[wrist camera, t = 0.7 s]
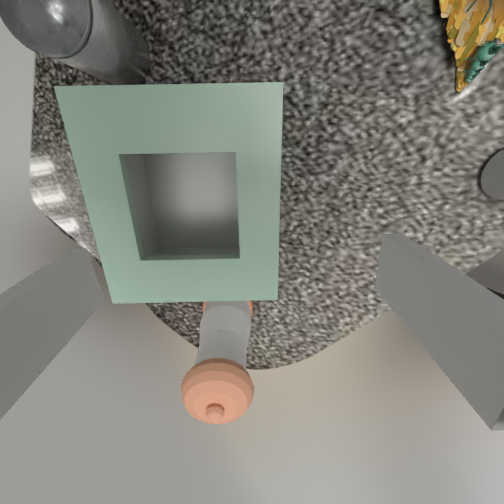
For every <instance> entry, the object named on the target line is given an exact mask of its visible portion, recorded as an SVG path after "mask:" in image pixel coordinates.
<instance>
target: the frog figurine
mask: <svg viewBox="0 0 504 504" xmlns="http://www.w3.org/2000/svg"><path fill="white" fill-rule="evenodd" d="M439 4H440V9H441V10H440V11H441V17H442V18H446V17H447V19H448V23H447V27H446V30H447V35H448V36H449V37H448V40H447V41H448V42H449V43H451V46H450V47H451V49H452V50H453V51H454V52H455V58H456V66H457V71H456V90H457V92H460V91H461V89H463V88H464V87H466V86H467V85H468V83H469V82H471V81H472V80H473V79H474V78H476V76H477V75H479V73H480V70H483V68H485V67H484V66H485V65H486V64H487V63H489V62H490V60H492V59H491V58H492V57H493V56H494V55H495V54H496V52H498V50H499V49H502V48H504V44H502V45H501V44H499V45H498V46H497V44H496V43H494V39H495V38H499V40H500V41H501V43H502V42H504V0H439ZM444 25H445V24H444ZM477 47H480V48H479V49H478V50H476V49H477Z"/></svg>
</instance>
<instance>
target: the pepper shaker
mask: <svg viewBox="0 0 504 504" xmlns="http://www.w3.org/2000/svg"><path fill="white" fill-rule="evenodd" d="M202 308H203V315H202V319H201V322H200V345H199V349H198V354H197V358H196V363H195V366H193V367H192V368H191V370H190V371H189V372H188V373H187V374H186V376H185V377H184V379H183V382H182V385H181V393H182V401H183V403H184V405H185V407H186V409H187V411H188V412H189V413H190V414H191V415H192V416H193V417H195V418H196V419H198V420H200V421H202V422H206V423H211V424H223V423H228V422H231V421H234V420H236V419H238V418H239V417H240V416H242V415H243V414H244V413H245V411H246V410H247V409H248V407H249V405H250V403H251V402H252V398H253V393H254V386H253V383H252V380H251V378H250V376H249V374H248V372H247V371H246V349H247V345H248V340H249V336H250V331H251V316H252V314H253V300H251V301H205V302H203V306H202Z"/></svg>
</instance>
